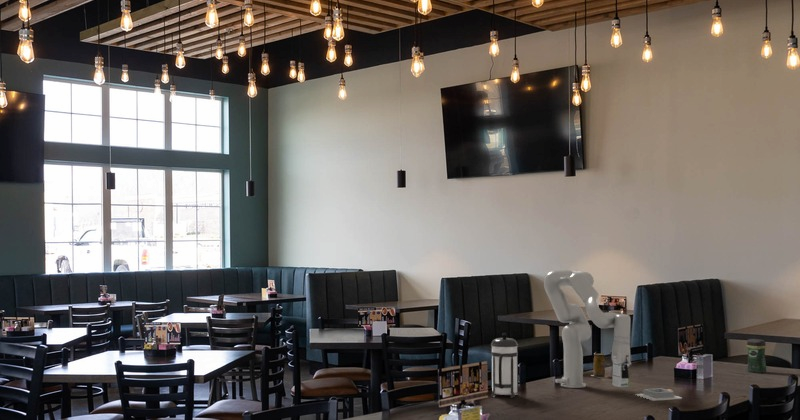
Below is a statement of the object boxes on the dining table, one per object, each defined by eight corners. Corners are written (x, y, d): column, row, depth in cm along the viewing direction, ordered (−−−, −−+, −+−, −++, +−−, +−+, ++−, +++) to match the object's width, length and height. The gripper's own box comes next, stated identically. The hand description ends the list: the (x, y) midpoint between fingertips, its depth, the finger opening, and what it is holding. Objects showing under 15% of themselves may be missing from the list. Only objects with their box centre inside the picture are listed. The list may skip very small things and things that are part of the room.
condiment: (602, 375, 453) (602, 353, 453) (609, 377, 444) (609, 355, 445) (590, 375, 451) (589, 353, 452) (597, 378, 443) (596, 355, 443)
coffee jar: (768, 372, 462) (768, 339, 462) (761, 373, 457) (761, 340, 457) (752, 370, 469) (751, 337, 470) (745, 371, 464) (744, 338, 465)
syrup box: (620, 387, 394) (621, 357, 394) (611, 385, 400) (612, 355, 400) (629, 386, 397) (630, 356, 397) (620, 384, 402) (621, 354, 402)
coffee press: (481, 394, 394) (481, 332, 395) (510, 392, 401) (509, 330, 402) (499, 401, 378) (499, 335, 380) (529, 398, 385) (528, 334, 386)
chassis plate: (652, 400, 379) (652, 394, 379) (635, 395, 392) (635, 388, 392) (682, 398, 384) (682, 392, 384) (664, 393, 397) (663, 387, 397)
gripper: (605, 337, 406) (604, 373, 405) (625, 342, 389) (624, 380, 389) (618, 337, 408) (617, 373, 408) (638, 342, 391) (637, 380, 391)
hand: (620, 376), depth 398 cm, fingers closed on syrup box, 6 cm apart
